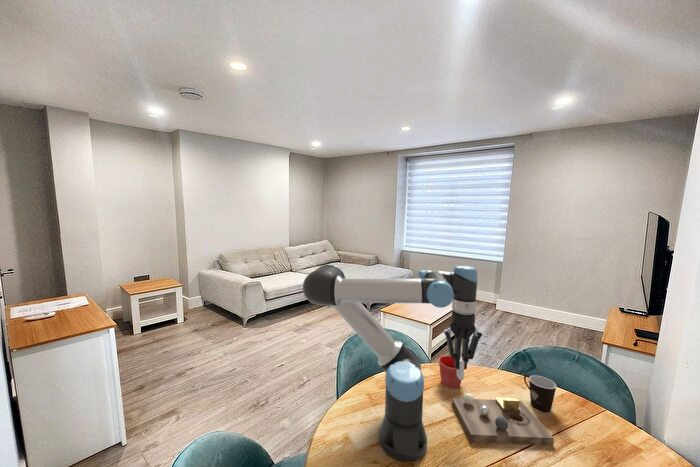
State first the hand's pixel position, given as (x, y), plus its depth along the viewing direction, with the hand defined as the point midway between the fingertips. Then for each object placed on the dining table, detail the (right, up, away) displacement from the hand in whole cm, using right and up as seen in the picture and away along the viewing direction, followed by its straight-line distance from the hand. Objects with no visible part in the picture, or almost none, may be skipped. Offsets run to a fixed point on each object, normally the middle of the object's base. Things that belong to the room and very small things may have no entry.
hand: (459, 377), depth 99 cm
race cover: (+20, -13, +6) cm, 25 cm away
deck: (+14, -16, +1) cm, 21 cm away
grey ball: (+12, -12, -6) cm, 18 cm away
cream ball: (+6, -11, +7) cm, 14 cm away
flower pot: (+5, -15, +24) cm, 29 cm away
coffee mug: (+35, -16, +11) cm, 40 cm away
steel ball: (+9, -12, 0) cm, 15 cm away
